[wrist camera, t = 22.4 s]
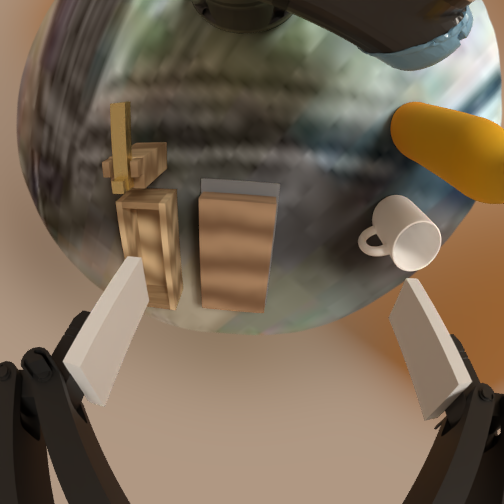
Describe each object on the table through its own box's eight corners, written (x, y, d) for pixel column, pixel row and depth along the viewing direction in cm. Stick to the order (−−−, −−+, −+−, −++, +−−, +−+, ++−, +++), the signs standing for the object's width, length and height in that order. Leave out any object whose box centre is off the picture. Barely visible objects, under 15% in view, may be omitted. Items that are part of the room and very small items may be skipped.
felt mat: (201, 178, 44) (201, 178, 43) (280, 183, 43) (280, 184, 43) (203, 299, 56) (203, 299, 56) (265, 304, 56) (265, 305, 56)
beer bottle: (386, 100, 35) (534, 143, 11) (436, 102, 34) (584, 153, 9) (389, 158, 40) (512, 261, 15) (437, 157, 39) (564, 248, 14)
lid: (204, 189, 44) (198, 198, 41) (275, 194, 44) (276, 204, 41) (205, 293, 55) (202, 307, 52) (264, 298, 55) (263, 313, 52)
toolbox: (128, 143, 41) (92, 161, 31) (175, 142, 41) (148, 160, 31) (144, 284, 55) (125, 323, 46) (183, 289, 55) (168, 330, 46)
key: (116, 102, 29) (105, 104, 27) (130, 101, 29) (120, 103, 27) (120, 186, 35) (111, 193, 32) (134, 186, 35) (125, 194, 32)
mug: (355, 249, 49) (372, 286, 40) (344, 208, 45) (362, 240, 36) (415, 229, 46) (441, 261, 37) (410, 187, 42) (439, 213, 33)
